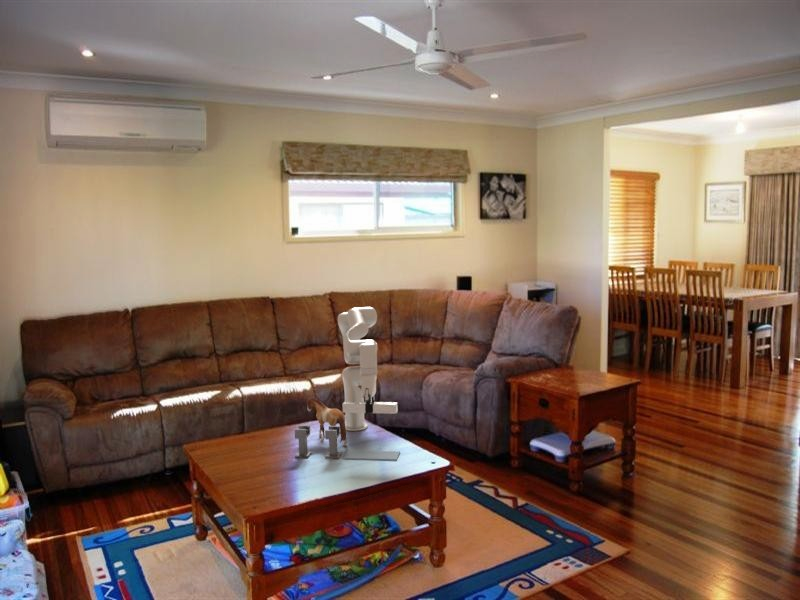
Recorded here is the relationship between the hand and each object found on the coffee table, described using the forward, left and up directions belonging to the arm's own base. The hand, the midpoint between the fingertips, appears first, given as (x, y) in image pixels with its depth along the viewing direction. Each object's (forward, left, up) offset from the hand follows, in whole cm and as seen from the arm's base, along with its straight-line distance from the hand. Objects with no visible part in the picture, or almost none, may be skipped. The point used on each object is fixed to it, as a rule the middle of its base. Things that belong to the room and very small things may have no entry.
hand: (370, 410), depth 298 cm
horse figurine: (-14, -25, -21) cm, 36 cm away
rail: (0, 0, 0) cm, 0 cm away
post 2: (+2, -17, -21) cm, 27 cm away
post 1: (+2, -31, -21) cm, 37 cm away
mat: (0, 0, -21) cm, 21 cm away
